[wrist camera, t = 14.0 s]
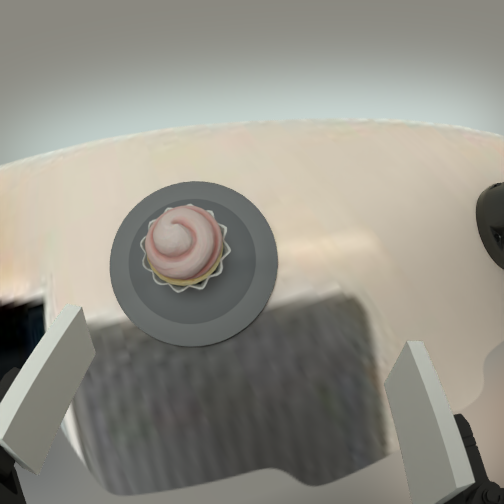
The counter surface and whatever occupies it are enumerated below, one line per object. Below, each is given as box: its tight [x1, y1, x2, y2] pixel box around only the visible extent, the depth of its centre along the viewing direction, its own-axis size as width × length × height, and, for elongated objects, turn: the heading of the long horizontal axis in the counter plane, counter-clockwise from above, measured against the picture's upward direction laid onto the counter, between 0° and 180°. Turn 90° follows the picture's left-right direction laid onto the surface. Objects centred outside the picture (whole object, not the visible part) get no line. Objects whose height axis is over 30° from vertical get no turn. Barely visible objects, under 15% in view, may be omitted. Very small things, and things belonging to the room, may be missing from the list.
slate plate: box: [110, 181, 278, 347], centre depth 38 cm, size 20×20×1 cm
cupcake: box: [140, 204, 231, 293], centre depth 32 cm, size 9×9×10 cm
